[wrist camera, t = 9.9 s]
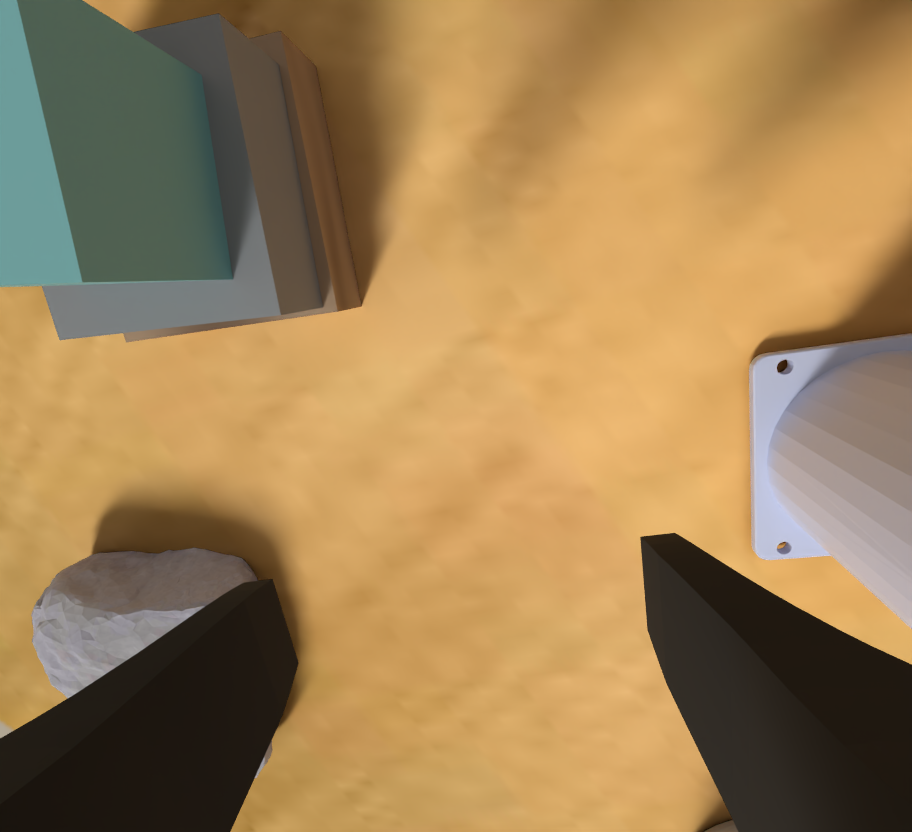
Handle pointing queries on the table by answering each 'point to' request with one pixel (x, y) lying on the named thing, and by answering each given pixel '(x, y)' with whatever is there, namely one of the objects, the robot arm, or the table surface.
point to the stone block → (124, 609)
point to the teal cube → (101, 155)
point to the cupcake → (724, 827)
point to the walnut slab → (304, 191)
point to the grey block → (242, 197)
